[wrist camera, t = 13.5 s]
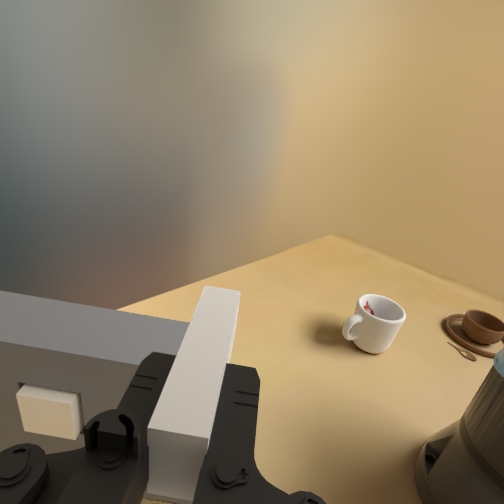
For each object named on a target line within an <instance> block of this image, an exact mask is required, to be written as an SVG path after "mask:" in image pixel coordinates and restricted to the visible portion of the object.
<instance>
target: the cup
mask: <svg viewBox="0 0 504 504" xmlns="http://www.w3.org/2000/svg"><path fill="white" fill-rule="evenodd" d="M405 317H406V314H405V311H404V310H403V308H402V307H401V306H400V305H399V304H397V303H396V302H394V301H393V300H391V299H389V298H386V297H384V296H380V295H375V294H366V295H362V296H361V297H359V299H358V300H357V304H356V309H355V314H354V315H353V316H351V317H349V318H348V319H347V320H346V321H345V323H344V325H343V329H342V334H343V336H344V338H345V339H347V340H353V342H354V343H355V345H356V346H357V347H359V348H360V349H362V350H363V351H366V352H369V353H373V354H379V353H383V352H384V351H386V350H387V349H388V348H389V346H390V345H391V343H392V341H393V339H394V338H395V336H396V334H397V332H398V331H399V329H400V327H401V325H402V324H403V322H404V320H405ZM351 327H352V329H351ZM350 329H351V332H350ZM349 332H350V333H349Z"/></svg>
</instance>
